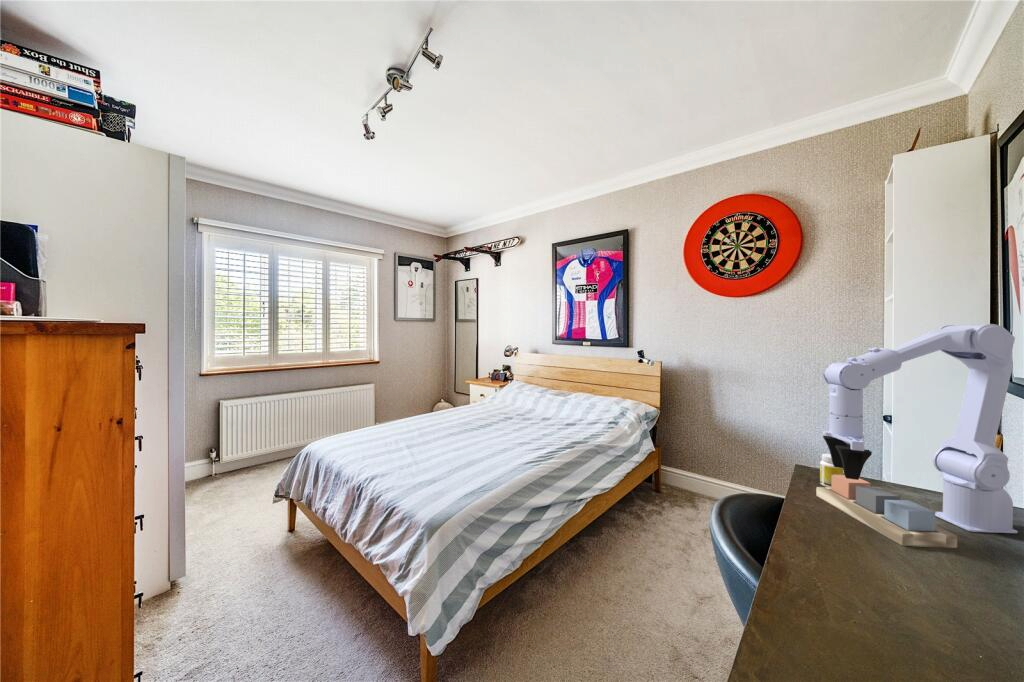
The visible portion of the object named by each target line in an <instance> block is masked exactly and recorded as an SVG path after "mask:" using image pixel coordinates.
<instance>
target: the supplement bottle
mask: <svg viewBox="0 0 1024 682" xmlns="http://www.w3.org/2000/svg"><path fill="white" fill-rule="evenodd" d="M832 475H844V471H843V468H839V467H834V465H833V462H832V458H831V454H830V453H822V454H821V461H820V462H819V484H820V485H822V487H831V482H832Z"/></svg>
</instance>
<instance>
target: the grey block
mask: <svg viewBox="0 0 1024 682" xmlns="http://www.w3.org/2000/svg"><path fill="white" fill-rule="evenodd" d="M885 500H901V496H900V495H898V494H896V493H894V492H892V491H890V490H887V489H885V488H882V487H880V486H871V487H869V486H856V503H857V504H859V505H860V506H862V507H864V508H866V509H868V510H870V511H872V512H874V513H876V514H884V508H885Z"/></svg>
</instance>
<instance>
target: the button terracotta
mask: <svg viewBox="0 0 1024 682" xmlns="http://www.w3.org/2000/svg"><path fill="white" fill-rule="evenodd" d="M871 485H872V484H871V482H869V481H866V480H864V479H862V478H860V477H859V479H858V480H855V479H847V478H846V477H845V475H844V474H843V475H832V482H831V490H832V491H834V492H836V493H838V494H840V495H842V496H843V497H845V498H847V499H856V486H869V487H872V486H871Z"/></svg>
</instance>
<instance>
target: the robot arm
mask: <svg viewBox="0 0 1024 682" xmlns="http://www.w3.org/2000/svg"><path fill="white" fill-rule="evenodd" d="M1015 340H1016V337H1015V336H1014V335H1013V334H1012V333H1011V332H1010V331H1009V330H1007V329H1006V328H1005V327H1003V326H1002V325H999V324H995V323H987V324H977V325H976V324H972V325H971V324H970V325H968V324H967V325H954V324H953V325H950V324H947V325H942V326H940V327H939V328H933V329H930V330H929V332H927V333H924V334H922V335H919V336H918V337H916V338H914V339H911V340H909V341H906V342H905V343H901V344H900V345H898V346H896V347H893V348H890V349H889V348H885V347H871V348H869V349H868V352H867V353H863V354H861V355H858V356H856V357H853V356H851V357H848V358H847V360H846V361H845V362H841V361H840V362H839V361H838V362H833V363H831V364H829V365H828V367H827V368H826V369H825V371H824V373H822V378H823V381H824V382H825V383H826V384H827V386H828V388H827V389H828V393H829V394H828V395H829V396H828V400H829V401H828V404H829V406H828V408H829V409H828V410H829V411H828V412H829V415H828V416H829V417H828V418H829V419H828V421H829V423H828V425H829V426H828V427H829V428H828V430H822V434H823V435H822V438H823V439H824V441H825V443H826V445H827V448H828V450H829V454H831V458H832V462H833V465H834V467H839V468H843V475H845V477H846V478H847V479H855V480H858V479H859V478H860V477H861V475H862V471H863V468H864V465H865V464H866V462H867V461H868V459H869V458H870V457H871V456H872V454H873V453H872V451H871V450H870V449H866V448H865V442H864V440H865V435H864V433H863V432H864V429H863V427H864V389H866V388H867V387H868V386H869V385H870V383H871V381H873V380H875V379H878V378H881V377H883V376H886V375H889V374H891V373H892V374H893V373H894V372H897V371H899V370H900V369H901V368H902V364H903V363H904V362H907V361H911V360H914V359H917V358H919V357H923V356H926V355H929V354H932V353H936V352H939V351H940V352H942V353H945V354H947V355H949V356H951V357H952V358H954V359H956V360H958V361H960V362H961V363H962V364H964V365H965V366H966V367H967V368H968V369H969V371H968V376H967V379H966V384H965V388H964V392H963V397H962V401H961V407H960V410H959V415H958V419H957V423H956V428H955V432H954V435H953V436H952V437H949V438H947V439H944V440H941V442H940V443H941V444H940V446H939V449H937V451H936V452H935V453H934V454H933V456H932V463H933V466H934V468H935V469H936V470H937V471H938V472H940V473H939V474H940V476H939V477H942V478H943V479H942V480H943V481H942V483H943V484H942V486H943V487H942V511H934V512H935V517H936V518H939V519H941V520H944V521H945V522H948V523H950V524H951V525H955V526H957V527H959V528H961V529H963V530H965V531H968V532H972V533H995V534H996V533H1000V534H1002V533H1003V534H1018V532H1019V531H1018V530H1016V529H1014V528H1013V527H1014V523H1013V520H1014V519H1013V518H1014V517H1013V516H1014V514H1013V513H1014V504H1013V503H1014V502H1013V499H1012V497H1011V496H1010V494H1009V492H1008V491H1006V490H1005V489H1004V487H1005V486H1007V484H1008V483H1009V481H1010V477H1011V475H1010V470H1009V467H1008V462H1009V457H1008V456H1007V455H1006V454H1005V453H1004V452H1002V450H1000V448H998V447H997V446H996V445H995V443H996V439H997V437H998V436H997V435H998V430H999V427H1000V423H1001V419H1002V418H1001V417H1002V414H1003V409H1004V405H1005V401H1006V398H1007V392H1008V388H1009V384H1010V379H1011V376H1012V371H1013V369H1014V368H1013V366H1014V362H1013V357H1012V352H1013V347H1014V344H1015Z"/></svg>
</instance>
